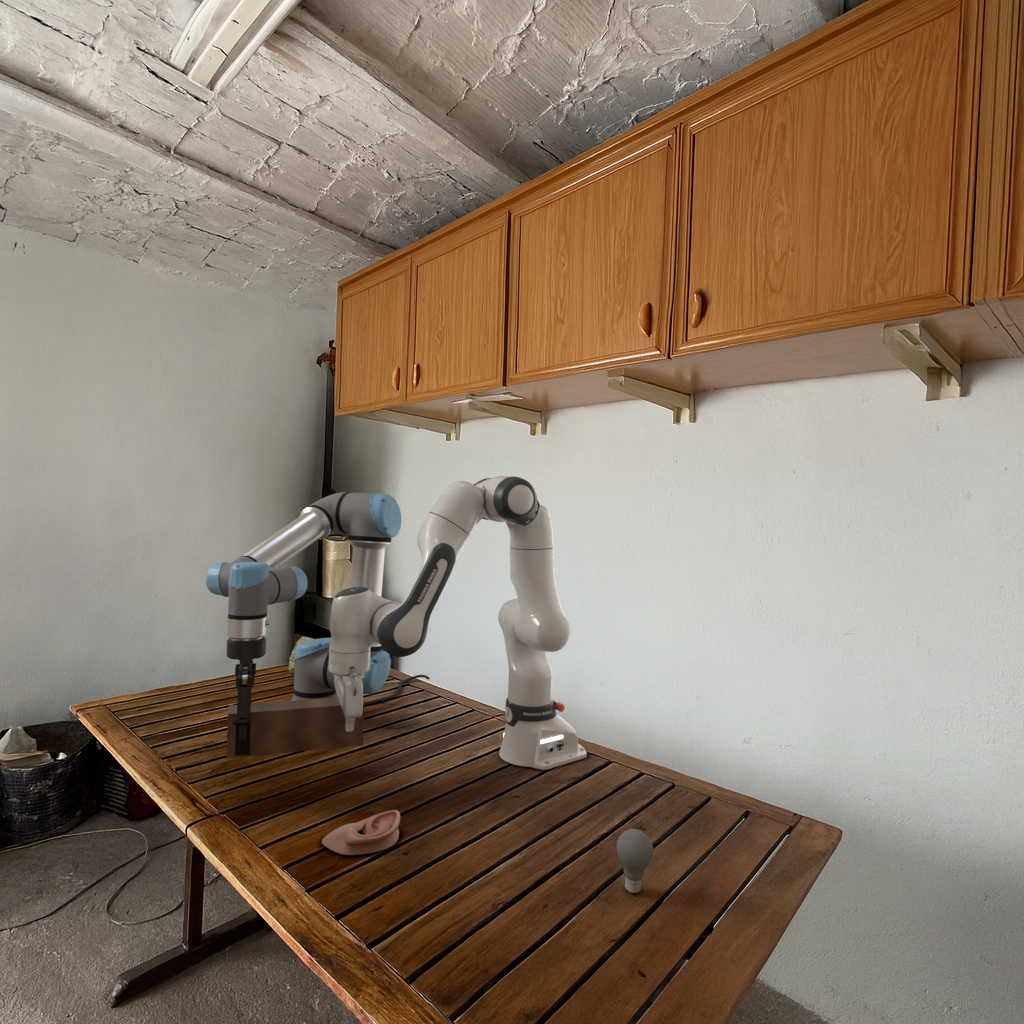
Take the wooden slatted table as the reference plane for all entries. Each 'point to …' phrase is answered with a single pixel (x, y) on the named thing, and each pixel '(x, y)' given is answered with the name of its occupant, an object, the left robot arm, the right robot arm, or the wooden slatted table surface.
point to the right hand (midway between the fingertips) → (347, 724)
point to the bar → (295, 727)
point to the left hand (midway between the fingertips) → (242, 748)
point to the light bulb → (634, 857)
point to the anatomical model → (365, 835)
